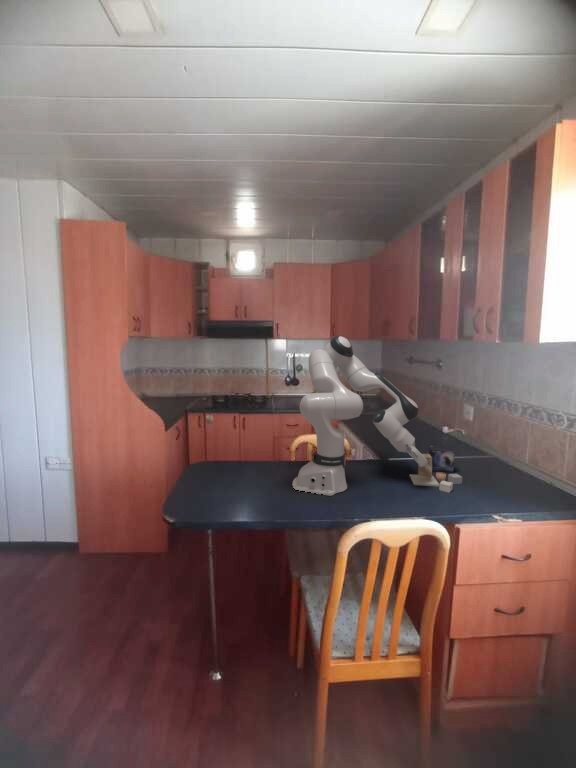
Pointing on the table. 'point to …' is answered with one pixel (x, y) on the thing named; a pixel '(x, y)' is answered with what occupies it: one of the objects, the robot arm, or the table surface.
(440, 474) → the terracotta puck
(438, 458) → the dark purple camera
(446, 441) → the table surface
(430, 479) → the coaster
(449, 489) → the off-white plastic block
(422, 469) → the beech block
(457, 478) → the grey plastic block
